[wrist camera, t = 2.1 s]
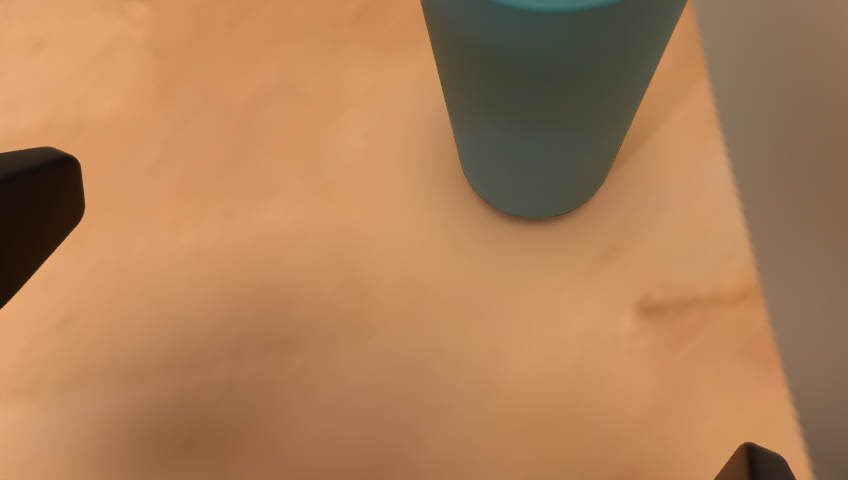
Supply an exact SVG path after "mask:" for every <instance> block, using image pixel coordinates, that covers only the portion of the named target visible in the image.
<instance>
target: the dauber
mask: <svg viewBox="0 0 848 480" xmlns="http://www.w3.org/2000/svg"><path fill="white" fill-rule="evenodd" d="M420 1H421V5H422V9H423V13H424V17H425V21H426V25H427V29H428V33H429V37H430V41H431V45H432V49H433V53H434V57H435V61H436V66H437V70H438V74H439V78H440V82H441V86H442V90H443V94H444V98H445V102H446V106H447V110H448V114H449V118H450V122H451V126H452V130H453V134H454V138H455V142H456V146H457V150H458V154H459V158H460V163H461V166H462V169H463V172H464V174H465V176H466V178H467V180H468V182H469V183H470V185H471V186H472V187H473V189H474V190H475V191H476V192H477V193H478V195H479V196H480V197H481V198H483V199H484V200H485V201H486V202H487V203H489V204H490V205H492V206H493V207H495V208H496V209H498V210H501V211H503V212H505V213H507V214H511V215H514V216H518V217H523V218H534V219H538V218H549V217H554V216H558V215H561V214H564V213H567V212H569V211H571V210H573V209H575V208H577V207H578V206H580V205H582V204H583V203H585V202H586V201H587V200H588V199H589V198H590V197H592V196H593V195H594V194H595V192H596V191H597V190H598V189H599V188H600V186H601V185H602V183H603V182H604V180H605V179H606V177H607V175H608V173H609V171H610V168H611V166H612V164H613V162H614V160H615V157H616V155H617V153H618V151H619V149H620V147H621V144H622V142H623V140H624V138H625V136H626V133H627V131H628V129H629V127H630V125H631V123H632V120H633V118H634V116H635V114H636V112H637V109H638V107H639V105H640V103H641V101H642V99H643V96H644V94H645V92H646V90H647V88H648V85H649V83H650V81H651V79H652V77H653V75H654V72H655V70H656V68H657V66H658V64H659V61H660V59H661V57H662V55H663V53H664V51H665V48H666V46H667V44H668V42H669V40H670V38H671V35H672V33H673V31H674V29H675V27H676V24H677V22H678V20H679V18H680V16H681V14H682V11H683V9H684V7H685V5H686V3H687V0H420Z"/></svg>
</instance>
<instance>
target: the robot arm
mask: <svg viewBox="0 0 848 480" xmlns="http://www.w3.org/2000/svg"><path fill="white" fill-rule="evenodd" d="M84 211H85V198H84V189H83V181H82V172H81V166H80V163H79V161H78V160H77V158H75V157H74V156H72V155H70V154H68V153H65V152H63V151H61V150H58V149H56V148H53V147H47V146H46V147H38V148H31V149H25V150H18V151H11V152H5V153H0V309H1V308H3V307H4V306H5V305H6V304H7V303H8V302H9V301H10V299H11V298H12V297H13V296H14V295H15V294H16V293H17V292H18V291H19V290H20V289H21V288H22V287H23V285H24V284H25V283H26V282H27V281H28V280H29V279H30V278H31V277H32V275H33V274H34V273H35V272H36V271H37V270H38V269H39V268H40V266H41V265H42V264H43V263H44V262H45V261H46V260H47V259H48V257H49V256H50V255H51V254H52V253H53V252H54V251H55V250H56V249H57V247H58V246H59V245H60V244H61V243H62V242H63V241H64V240H65V238H66V237H67V236H68V235H69V234H70V233H71V232H72V231H73V229H74V228H75V227H76V226H77V225H78V224H79V222H80V221H81V219H82V217H83V215H84ZM714 480H796V478H795V477H794V475H793V473H792V471H791V469H790V467H789V465H788V463H787V462H786V460H785V459H784V458H783V457H782V456H781V455H779V454H778V453H775V452H773V451H771V450H768V449H766V448H764V447H761V446H759V445H756V444H754V443H751V442H746V443H743V444H742V445H740V446H739V447H738V448H737V450H736V451H735V452H734V454H733V455H732V456H731V458H730V459H729V460H728V462H727V463H726V464H725V466H724V467H723V468H722V470H721V471H720V472H719V474H718V475H717V476H716V477H715V479H714Z"/></svg>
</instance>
